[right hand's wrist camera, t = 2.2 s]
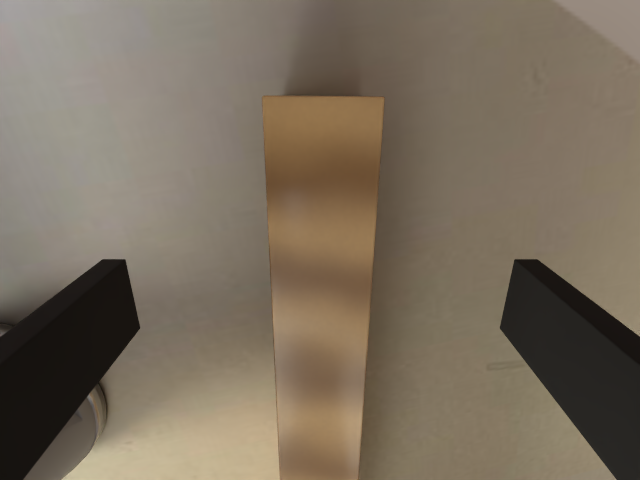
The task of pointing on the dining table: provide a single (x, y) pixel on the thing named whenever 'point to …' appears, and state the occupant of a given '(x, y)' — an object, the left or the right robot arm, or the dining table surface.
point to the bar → (321, 273)
